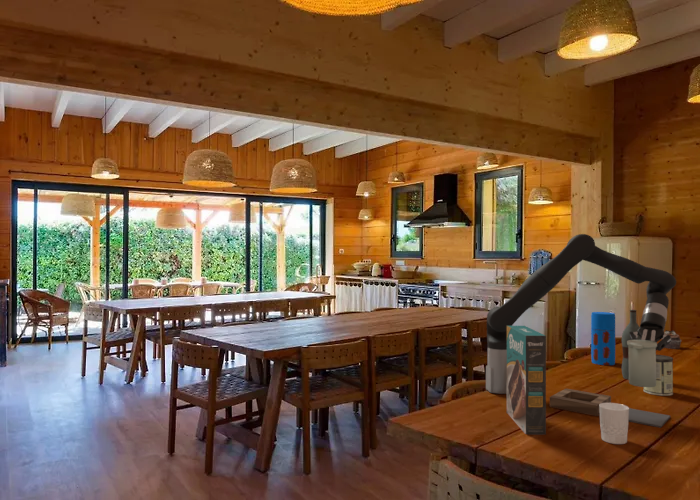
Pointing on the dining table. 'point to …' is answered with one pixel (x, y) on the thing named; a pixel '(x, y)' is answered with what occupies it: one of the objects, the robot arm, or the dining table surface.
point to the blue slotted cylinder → (603, 338)
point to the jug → (642, 363)
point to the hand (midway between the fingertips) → (645, 357)
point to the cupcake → (673, 340)
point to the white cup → (614, 422)
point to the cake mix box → (526, 379)
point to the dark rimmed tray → (578, 401)
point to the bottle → (625, 337)
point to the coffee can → (662, 377)
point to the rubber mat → (647, 418)
